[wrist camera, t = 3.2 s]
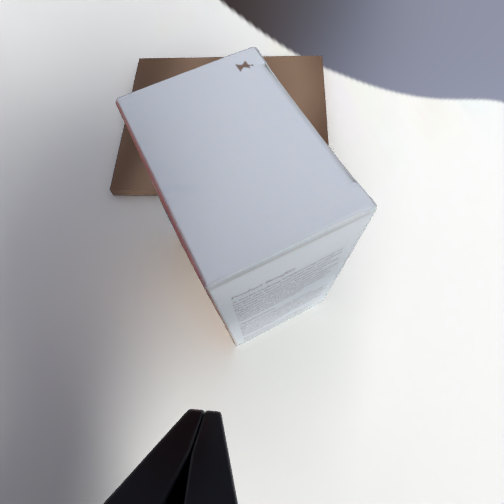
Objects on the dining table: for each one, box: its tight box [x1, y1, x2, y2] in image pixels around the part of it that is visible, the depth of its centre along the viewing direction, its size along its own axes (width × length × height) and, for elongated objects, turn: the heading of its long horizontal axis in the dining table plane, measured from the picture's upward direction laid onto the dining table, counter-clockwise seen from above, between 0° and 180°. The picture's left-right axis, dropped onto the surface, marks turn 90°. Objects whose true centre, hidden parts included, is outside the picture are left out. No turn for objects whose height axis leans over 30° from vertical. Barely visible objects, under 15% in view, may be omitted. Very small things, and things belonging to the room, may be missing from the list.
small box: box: [116, 47, 377, 345], centre depth 16 cm, size 8×6×10 cm
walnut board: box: [110, 56, 328, 195], centre depth 25 cm, size 14×12×1 cm
